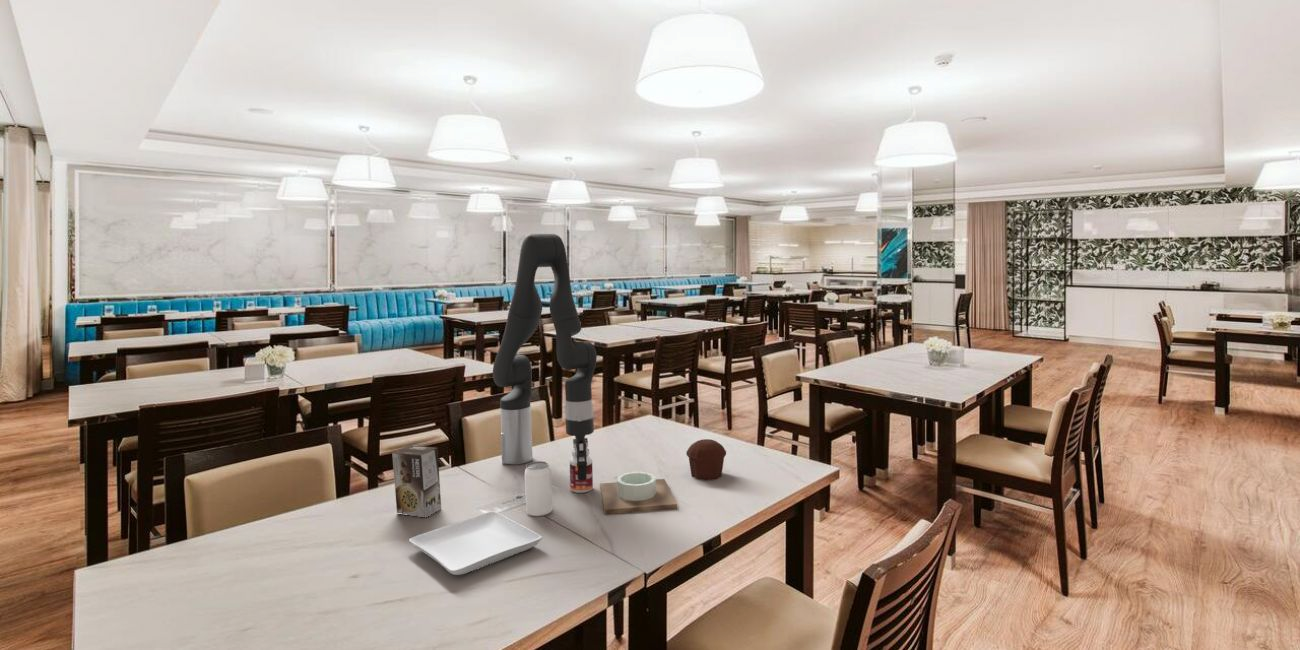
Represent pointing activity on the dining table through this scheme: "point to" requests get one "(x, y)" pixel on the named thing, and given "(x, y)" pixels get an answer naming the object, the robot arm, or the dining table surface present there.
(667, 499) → the walnut board
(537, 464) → the can
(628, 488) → the pale green bowl
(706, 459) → the muffin
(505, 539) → the salad plate
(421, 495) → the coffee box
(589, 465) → the pill bottle
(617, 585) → the dining table surface
